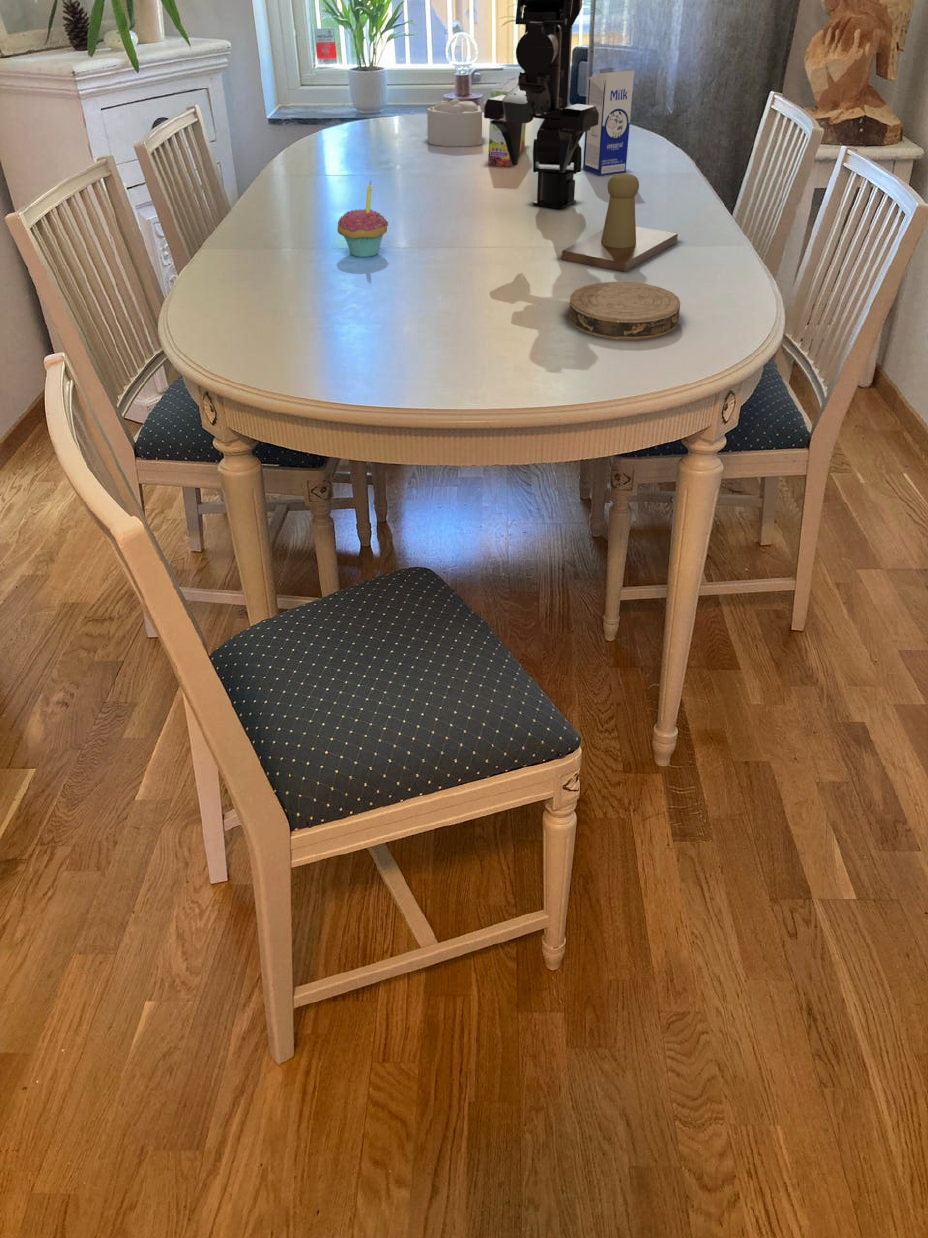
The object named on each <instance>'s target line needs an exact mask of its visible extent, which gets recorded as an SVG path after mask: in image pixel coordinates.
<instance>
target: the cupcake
mask: <svg viewBox="0 0 928 1238" xmlns="http://www.w3.org/2000/svg"><path fill="white" fill-rule="evenodd" d="M372 187H373V185H372V180H370V181H369V184H368V185H367V190H366V191H367V192H366V202H365V203H366V204H365V209H364V208H363V209H352V210H350V211H347V212H346V213H344V214H343V215H341V216H340V218H339V219H338V221H337V231H336V232H337V233H338V234H339V235H341V236H343V238H344V240H345V242H346V245H347V248H348V249H349V252H350V254H351V255H352V256H354V257H359V258H369V257H373V256H376V255H378V254H379V252H380V247H381V243H382V240H383V237H384V235H385V234H386V233H387V232H388V226H389V221H388V220H387V219H386V218H385V217H384V216H383V215H382V214H381V213H379V212H377V210H373V209H371V199H372V189H373V188H372Z"/></svg>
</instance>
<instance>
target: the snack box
mask: <svg viewBox="0 0 928 1238" xmlns="http://www.w3.org/2000/svg"><path fill="white" fill-rule="evenodd" d="M518 78H519V76H506V77H505V78H503V80H502V81H500V82H499V84H497V85H496V86H495V87H494V88H493V89H491V90H490V95H489V96H490V97H489V99H490V98H493V97H497V96H501V95H507V94H508V93H509V92H510V91H511V90H512V89H513V88H515V87H517V85H518ZM491 120H493V119H489V132H488V157H487V158H488V159H487V162H488V163H487V165H488V166H495V167H510V166H512V162H511V159H510V156H509V152H508V149H507V146H506V142H505V140H504V137H503V135H502V132H501V131H500V130H499V129H498V128H497V126H496V125H493V124H491V122H490V121H491ZM526 124H527V123H522V130H521V131H522V132H521V143H520V153H521V152H522V151H523V150H524V148H525V147H526V128H527V125H526Z"/></svg>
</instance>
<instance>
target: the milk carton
mask: <svg viewBox="0 0 928 1238" xmlns="http://www.w3.org/2000/svg"><path fill="white" fill-rule="evenodd" d="M634 77H635V69H633V70H622V71H614V67H605V68H601V69H599V73H598V74H595V75H591V76H590V77H588V79H587V81H588V82H587V97H586V105H591V106H595V107H596V109H597V111H598V113H599V119H598V125H596V126H593V127H591V129H590V130H588V131H586V132H584V144H583V145H584V146H583V161H582V169H583V170H584V171H586V172H589V173H592V174H595V175H597V176H605V175H615V174H623V173H626V172H627V171H626V170H627V161H628V149H629V136H630V127H631V126H630V125H631V115H632V114H631V113H632V100H633V91H634V89H633V88H634V79H635V78H634Z"/></svg>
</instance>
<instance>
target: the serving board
mask: <svg viewBox="0 0 928 1238" xmlns="http://www.w3.org/2000/svg"><path fill="white" fill-rule="evenodd" d="M602 234H603V230H601V231H599V232H596V233H594V234H593V235H590V236H589V237H587V238H585V239H582V240H581V241H578V242H576V243H574V244H573V245H570V246H568V247H566V248H564V249H562V250H561V260H564V261H569V262H573V263H579V264H583V265H589V266H594V267H599V268H602V269H603V268H604V269H609V270H614V271H618V272H624V273H625V272H628V271H629V270H631V269H632V268H634V267H636V266H638V265H640V264H641V263H644V262H645V261H646V260H648V259H650V258H652V257H654V256H656V255H657V254H659V253H661V252H662V251H664V250H665V249H666V250H667V248H669V247H671V246H672V245H674V244H676V243H677V242H678V237H679V233H675V232H669V231H665V230H659V229H654V228H648V227H643V226H637V225H636V245H635V246H632V247H628V248H614V247H608V246H605V245H603V244H602V243H601V239H602Z"/></svg>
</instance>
